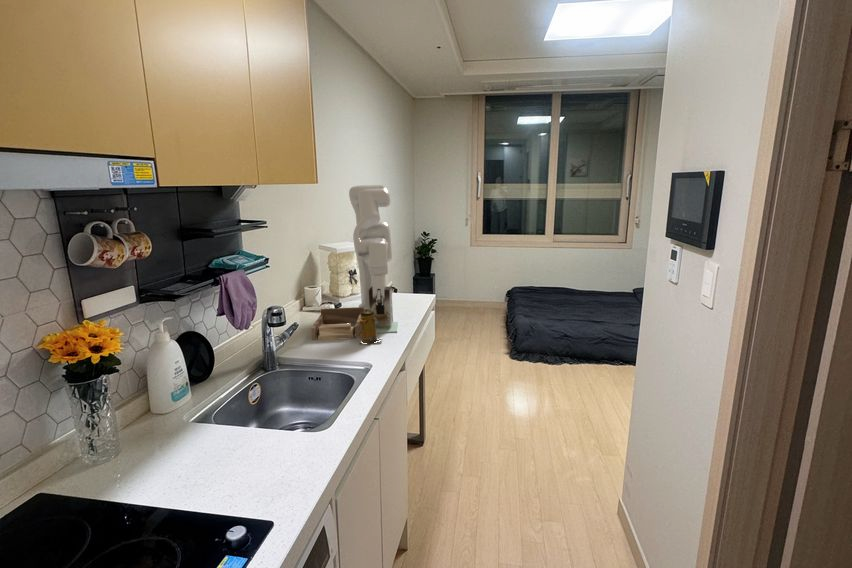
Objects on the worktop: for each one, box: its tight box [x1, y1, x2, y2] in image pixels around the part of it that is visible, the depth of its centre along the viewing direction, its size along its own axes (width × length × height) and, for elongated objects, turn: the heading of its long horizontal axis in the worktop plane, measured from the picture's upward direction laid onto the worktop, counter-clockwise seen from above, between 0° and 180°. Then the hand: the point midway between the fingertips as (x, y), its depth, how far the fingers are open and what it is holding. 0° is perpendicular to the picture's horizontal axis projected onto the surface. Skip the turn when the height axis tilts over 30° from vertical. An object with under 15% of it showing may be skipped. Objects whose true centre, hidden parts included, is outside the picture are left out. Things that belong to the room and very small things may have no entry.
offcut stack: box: [317, 323, 355, 341], centre depth 179 cm, size 4×14×5 cm, turn 93°
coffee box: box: [369, 286, 394, 326], centre depth 187 cm, size 9×6×16 cm
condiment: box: [360, 310, 383, 345], centre depth 172 cm, size 7×8×12 cm
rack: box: [310, 306, 365, 341], centre depth 187 cm, size 22×19×7 cm
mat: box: [376, 321, 399, 334], centre depth 189 cm, size 13×13×1 cm
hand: (381, 311), depth 187 cm, fingers open, 6 cm apart
